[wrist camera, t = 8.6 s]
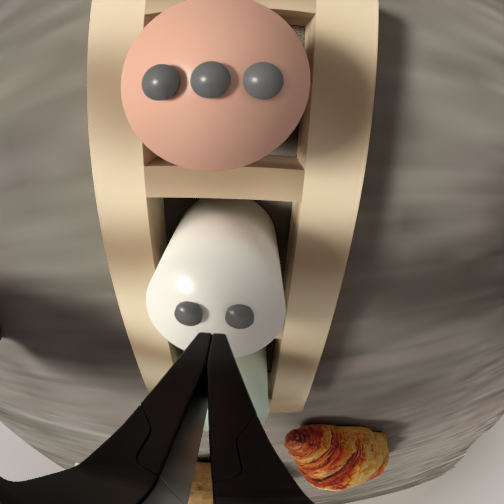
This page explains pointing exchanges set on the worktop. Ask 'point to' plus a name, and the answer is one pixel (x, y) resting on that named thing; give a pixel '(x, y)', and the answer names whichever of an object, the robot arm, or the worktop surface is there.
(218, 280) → the key two
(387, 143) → the worktop surface
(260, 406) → the key one
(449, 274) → the worktop surface
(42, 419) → the worktop surface
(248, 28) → the key three
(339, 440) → the croissant
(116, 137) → the board
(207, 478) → the potato
